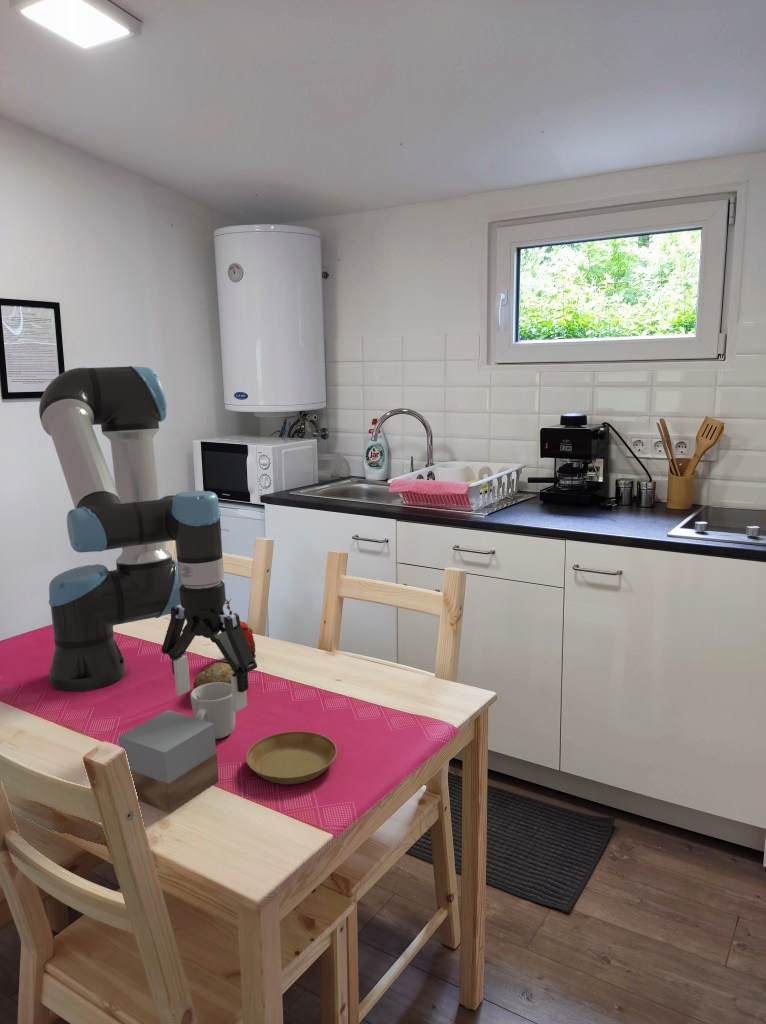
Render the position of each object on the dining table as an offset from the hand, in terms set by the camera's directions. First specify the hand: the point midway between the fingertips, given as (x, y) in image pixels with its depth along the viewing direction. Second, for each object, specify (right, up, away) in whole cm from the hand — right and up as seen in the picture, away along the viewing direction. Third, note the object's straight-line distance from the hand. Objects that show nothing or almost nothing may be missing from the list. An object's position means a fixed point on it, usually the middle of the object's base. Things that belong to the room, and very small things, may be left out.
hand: (211, 700), depth 130 cm
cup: (0, -7, +2) cm, 7 cm away
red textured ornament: (-2, 0, +36) cm, 36 cm away
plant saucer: (+15, -9, -8) cm, 20 cm away
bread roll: (-3, -4, +20) cm, 20 cm away
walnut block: (-3, -10, -14) cm, 18 cm away
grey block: (-3, -5, -15) cm, 16 cm away
